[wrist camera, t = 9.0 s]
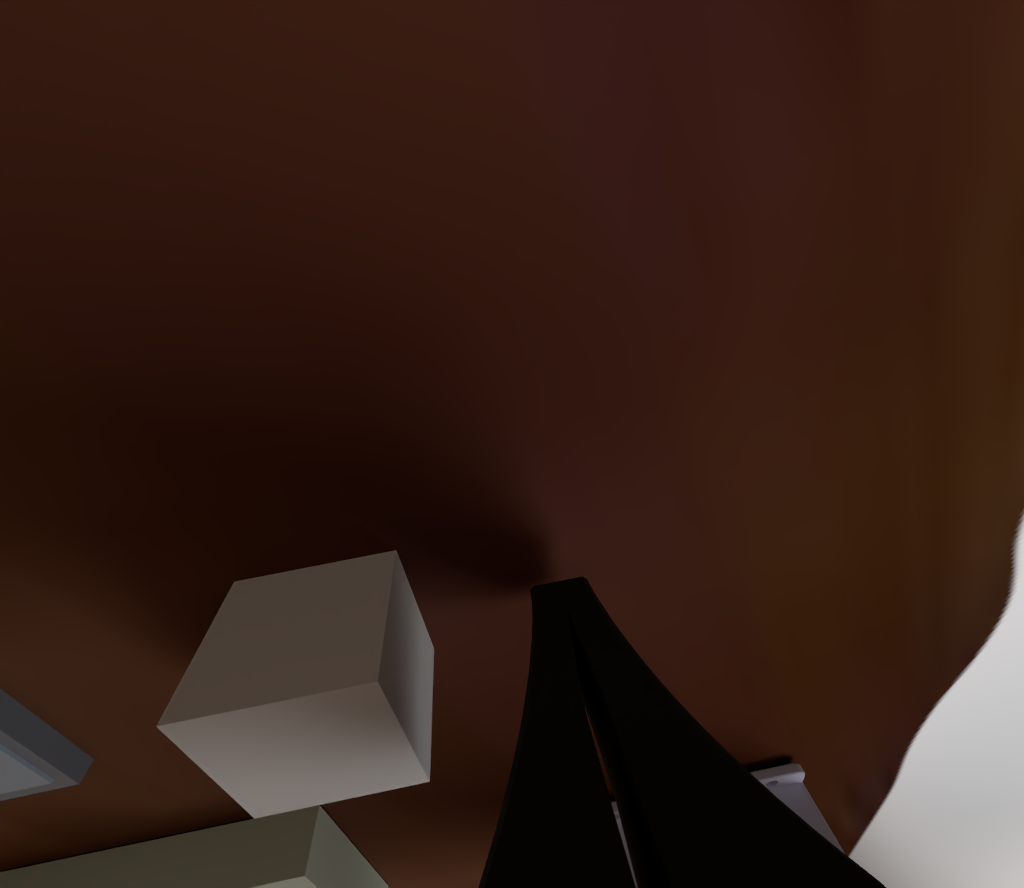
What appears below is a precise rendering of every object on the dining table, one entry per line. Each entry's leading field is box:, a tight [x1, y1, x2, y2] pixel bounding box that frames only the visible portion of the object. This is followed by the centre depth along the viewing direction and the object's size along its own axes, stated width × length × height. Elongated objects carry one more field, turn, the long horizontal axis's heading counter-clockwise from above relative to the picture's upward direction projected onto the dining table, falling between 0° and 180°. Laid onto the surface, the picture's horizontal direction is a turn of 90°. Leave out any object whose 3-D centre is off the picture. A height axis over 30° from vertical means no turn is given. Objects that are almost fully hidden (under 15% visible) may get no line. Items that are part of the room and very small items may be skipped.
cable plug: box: [156, 550, 434, 819], centre depth 11 cm, size 5×4×4 cm
